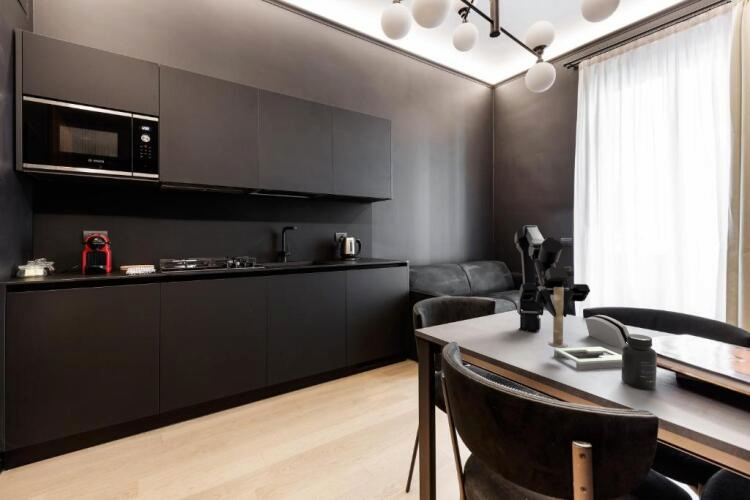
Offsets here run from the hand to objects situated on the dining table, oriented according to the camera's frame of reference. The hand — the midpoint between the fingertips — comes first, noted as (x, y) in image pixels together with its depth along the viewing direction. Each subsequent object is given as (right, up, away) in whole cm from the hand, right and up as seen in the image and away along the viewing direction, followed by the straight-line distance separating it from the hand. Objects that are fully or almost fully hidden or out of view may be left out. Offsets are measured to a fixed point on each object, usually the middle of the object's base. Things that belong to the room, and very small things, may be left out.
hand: (560, 316), depth 100 cm
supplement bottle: (+11, -14, -15) cm, 23 cm away
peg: (0, -9, +2) cm, 9 cm away
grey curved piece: (+27, -13, +19) cm, 35 cm away
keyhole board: (+10, -13, +2) cm, 16 cm away
